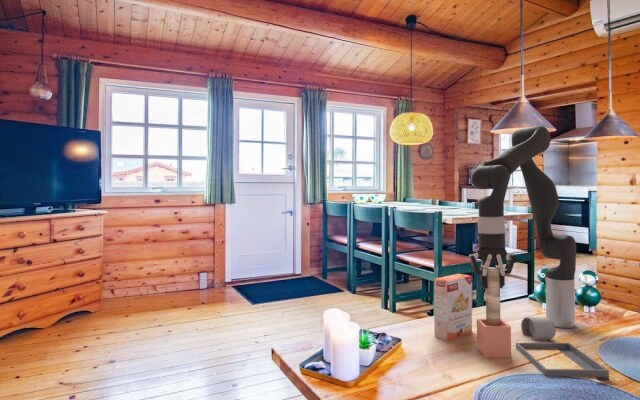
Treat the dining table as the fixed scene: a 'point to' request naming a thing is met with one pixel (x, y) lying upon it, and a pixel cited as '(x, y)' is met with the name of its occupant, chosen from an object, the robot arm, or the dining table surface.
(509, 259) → the robot arm
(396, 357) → the dining table surface
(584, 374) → the rectangular frame
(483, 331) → the pink square planter
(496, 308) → the dowel
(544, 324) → the ceramic mug
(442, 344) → the dining table surface
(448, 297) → the cracker box
